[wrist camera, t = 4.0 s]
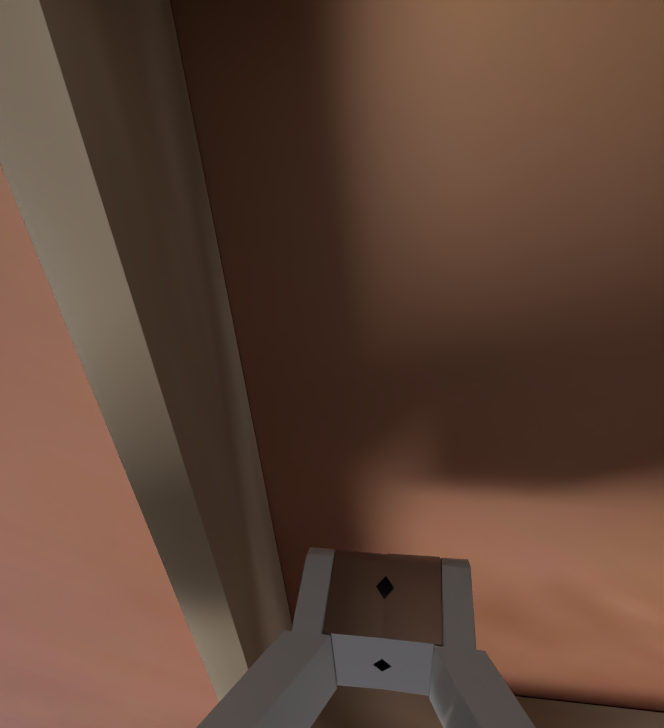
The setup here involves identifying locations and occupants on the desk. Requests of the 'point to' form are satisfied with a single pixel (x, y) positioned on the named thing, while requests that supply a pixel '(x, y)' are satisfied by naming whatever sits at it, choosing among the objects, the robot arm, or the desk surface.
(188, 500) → the u-shaped low wall enclosure
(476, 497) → the desk surface
